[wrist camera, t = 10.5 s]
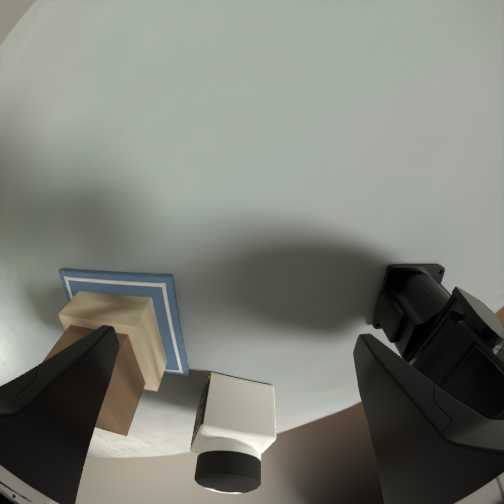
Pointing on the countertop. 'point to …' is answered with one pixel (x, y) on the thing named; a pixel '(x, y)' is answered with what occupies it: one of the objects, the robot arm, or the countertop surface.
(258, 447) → the medicine bottle
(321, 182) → the countertop surface
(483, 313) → the robot arm
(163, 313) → the blueprint board
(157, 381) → the maple slab
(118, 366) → the walnut cube
